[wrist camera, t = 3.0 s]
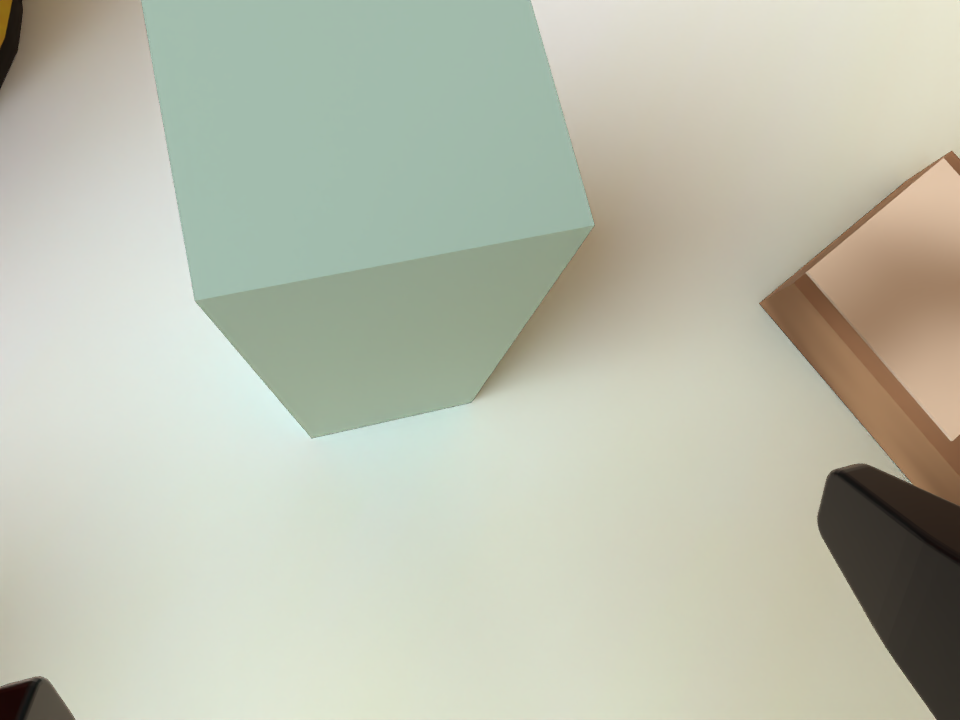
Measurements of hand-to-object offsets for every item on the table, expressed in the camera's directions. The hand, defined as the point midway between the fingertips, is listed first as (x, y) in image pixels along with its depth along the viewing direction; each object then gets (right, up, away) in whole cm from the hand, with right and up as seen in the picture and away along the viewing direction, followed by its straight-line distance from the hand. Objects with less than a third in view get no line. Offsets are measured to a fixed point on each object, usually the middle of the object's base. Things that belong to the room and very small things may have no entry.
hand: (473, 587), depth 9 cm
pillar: (-3, +3, +13) cm, 13 cm away
